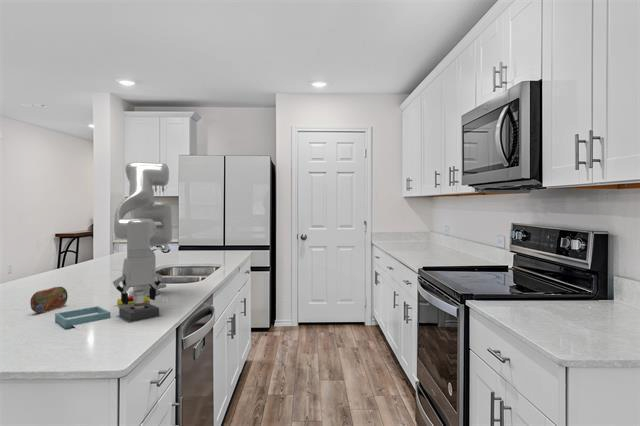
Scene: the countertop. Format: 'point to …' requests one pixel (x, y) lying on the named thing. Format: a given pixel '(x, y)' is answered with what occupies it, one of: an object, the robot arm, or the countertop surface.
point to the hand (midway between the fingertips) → (139, 301)
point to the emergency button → (130, 301)
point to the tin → (49, 299)
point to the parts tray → (69, 323)
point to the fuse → (139, 299)
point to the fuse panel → (138, 313)
